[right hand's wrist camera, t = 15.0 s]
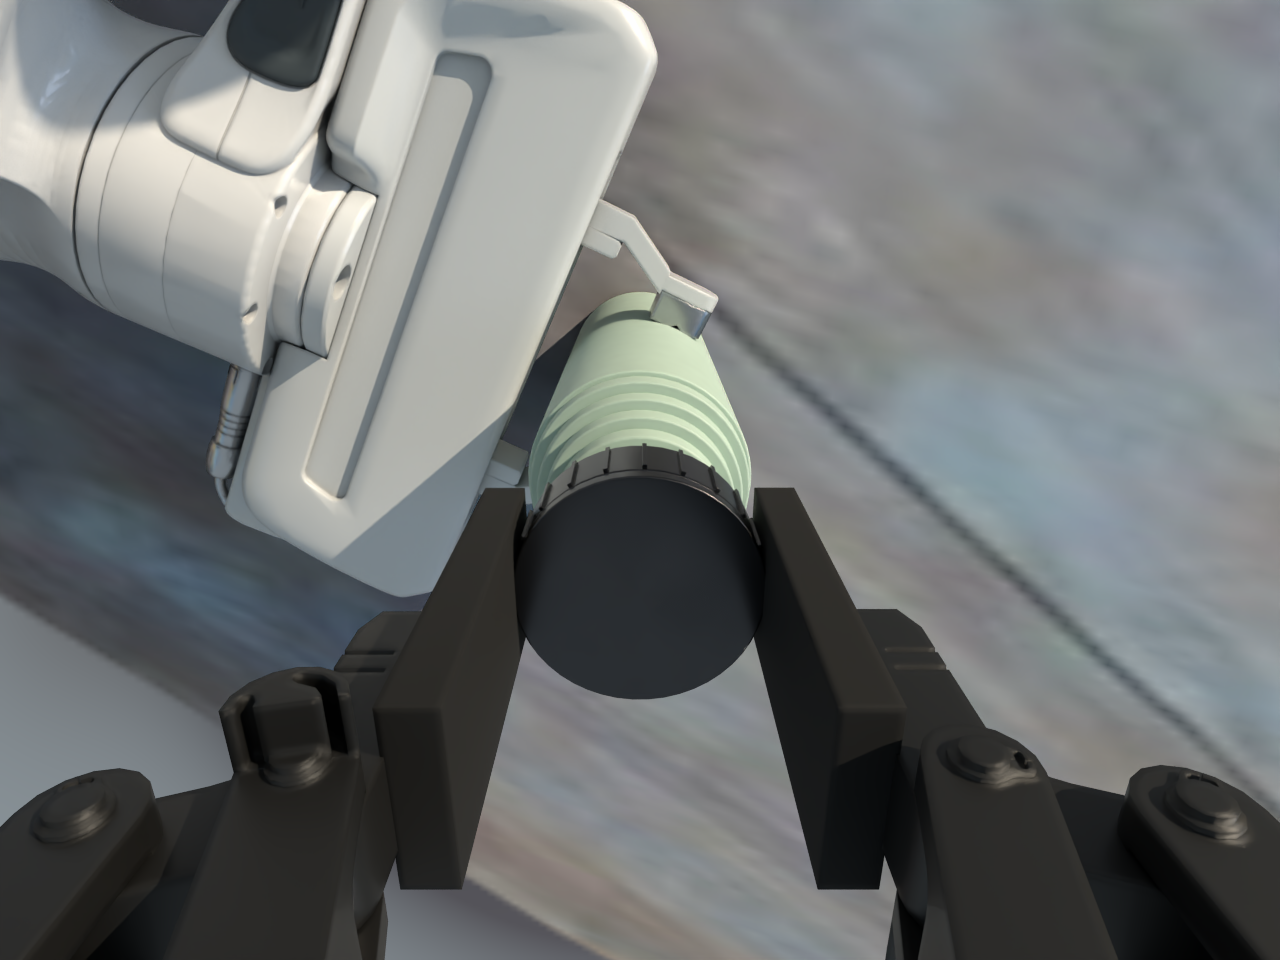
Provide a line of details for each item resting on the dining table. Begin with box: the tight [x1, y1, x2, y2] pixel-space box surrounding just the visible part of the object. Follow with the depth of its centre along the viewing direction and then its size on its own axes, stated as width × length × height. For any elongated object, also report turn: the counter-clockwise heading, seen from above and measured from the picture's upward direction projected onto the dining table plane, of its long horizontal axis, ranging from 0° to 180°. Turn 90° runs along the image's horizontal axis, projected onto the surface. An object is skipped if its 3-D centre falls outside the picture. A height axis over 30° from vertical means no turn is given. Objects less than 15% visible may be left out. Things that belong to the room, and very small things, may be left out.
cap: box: [514, 443, 765, 699], centre depth 14 cm, size 5×5×2 cm
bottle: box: [528, 292, 751, 509], centre depth 23 cm, size 6×6×19 cm
